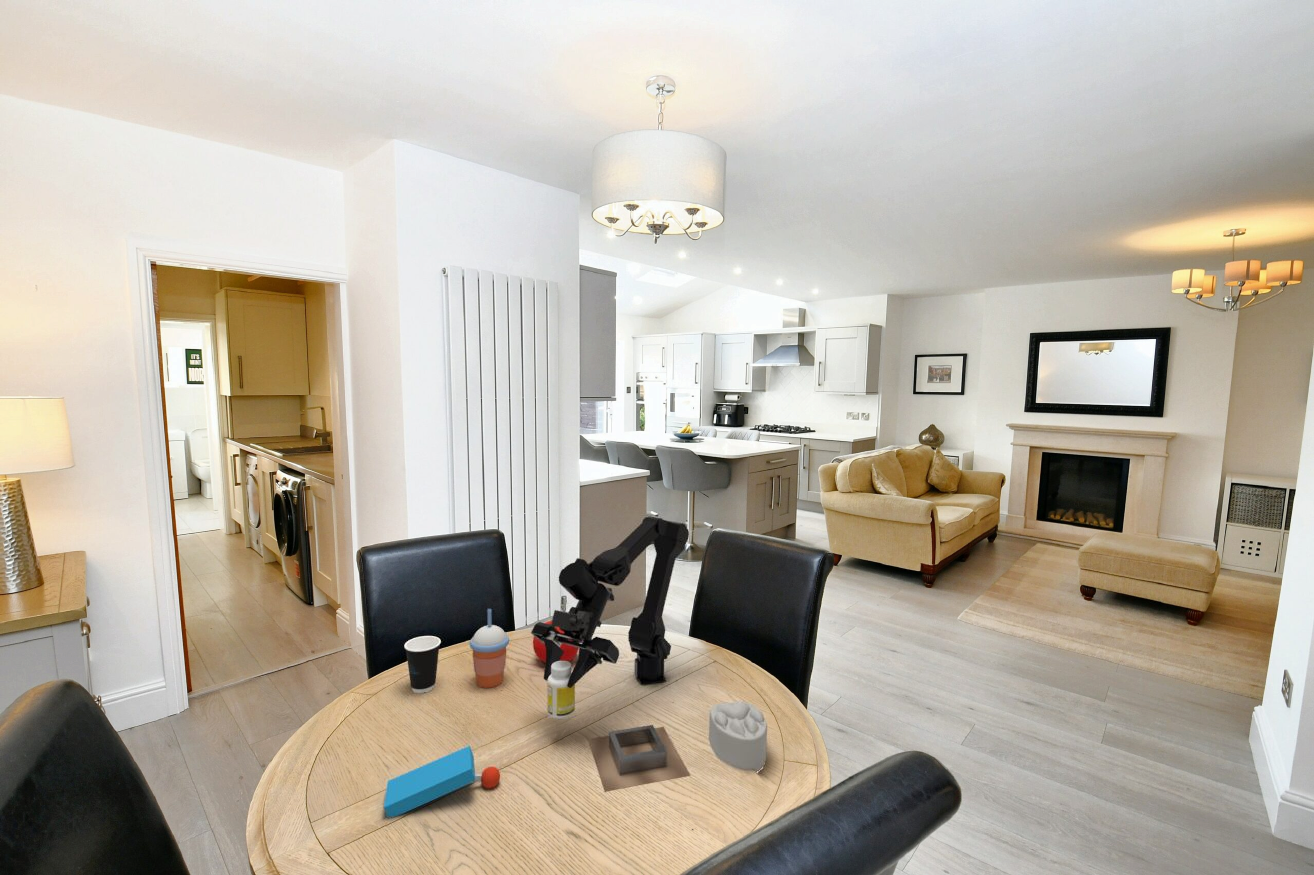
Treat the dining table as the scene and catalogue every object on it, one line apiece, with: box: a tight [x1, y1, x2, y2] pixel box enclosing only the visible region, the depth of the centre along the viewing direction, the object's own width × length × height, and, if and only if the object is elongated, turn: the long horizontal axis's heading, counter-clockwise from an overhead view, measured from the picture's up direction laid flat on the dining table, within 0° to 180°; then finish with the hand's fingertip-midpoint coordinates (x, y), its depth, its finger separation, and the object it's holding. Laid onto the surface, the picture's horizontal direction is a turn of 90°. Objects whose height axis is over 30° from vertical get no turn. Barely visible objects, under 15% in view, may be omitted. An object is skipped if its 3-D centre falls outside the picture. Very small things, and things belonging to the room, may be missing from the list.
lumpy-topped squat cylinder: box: [708, 700, 768, 773], centre depth 116 cm, size 10×13×9 cm
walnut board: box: [587, 726, 692, 793], centre depth 113 cm, size 16×16×1 cm
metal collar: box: [608, 724, 667, 775], centre depth 113 cm, size 9×9×3 cm
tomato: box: [532, 619, 579, 663], centre depth 154 cm, size 12×12×10 cm
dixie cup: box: [403, 635, 442, 694], centre depth 138 cm, size 8×8×11 cm
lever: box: [383, 745, 501, 819], centre depth 104 cm, size 7×7×18 cm
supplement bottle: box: [547, 661, 576, 720], centre depth 118 cm, size 5×5×10 cm
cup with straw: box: [469, 608, 510, 689], centre depth 142 cm, size 9×9×18 cm
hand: (556, 683), depth 116 cm, fingers closed on supplement bottle, 5 cm apart
